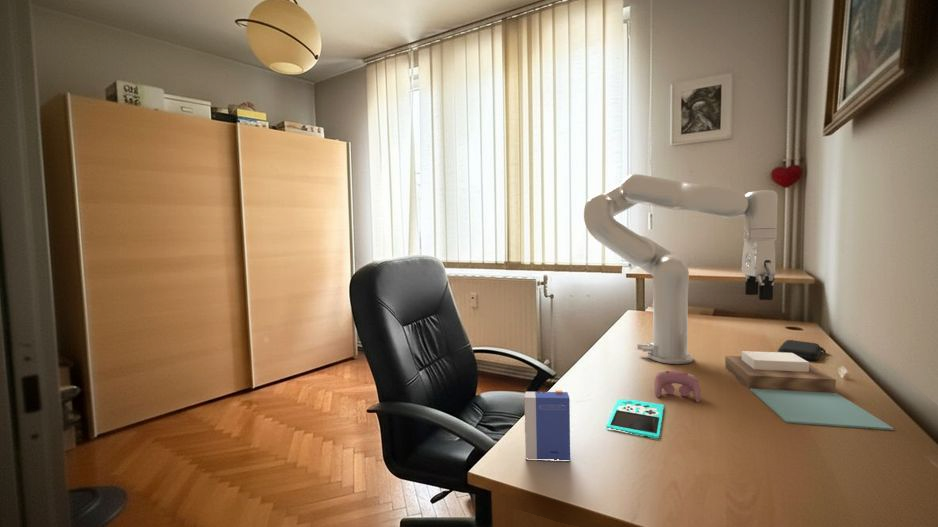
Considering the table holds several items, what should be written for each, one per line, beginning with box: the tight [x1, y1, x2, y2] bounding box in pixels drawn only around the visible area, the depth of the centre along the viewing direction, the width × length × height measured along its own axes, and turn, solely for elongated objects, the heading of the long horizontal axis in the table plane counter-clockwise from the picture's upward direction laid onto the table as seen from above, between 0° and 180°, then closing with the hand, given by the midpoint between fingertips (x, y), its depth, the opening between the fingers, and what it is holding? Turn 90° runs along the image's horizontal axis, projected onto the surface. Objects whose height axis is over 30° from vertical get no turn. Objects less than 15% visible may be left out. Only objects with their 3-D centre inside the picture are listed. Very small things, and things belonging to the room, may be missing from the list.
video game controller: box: [654, 370, 702, 403], centre depth 99 cm, size 10×5×7 cm, turn 65°
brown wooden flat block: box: [724, 355, 837, 393], centre depth 107 cm, size 18×16×4 cm
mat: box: [749, 388, 895, 431], centre depth 90 cm, size 18×18×1 cm
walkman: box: [523, 389, 571, 461], centre depth 73 cm, size 8×3×12 cm, turn 84°
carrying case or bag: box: [777, 339, 826, 362], centre depth 127 cm, size 11×3×15 cm
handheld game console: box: [606, 398, 665, 439], centre depth 88 cm, size 10×16×1 cm, turn 151°
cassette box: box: [741, 350, 810, 372], centre depth 107 cm, size 12×8×2 cm, turn 76°
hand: (758, 296), depth 116 cm, fingers open, 8 cm apart
